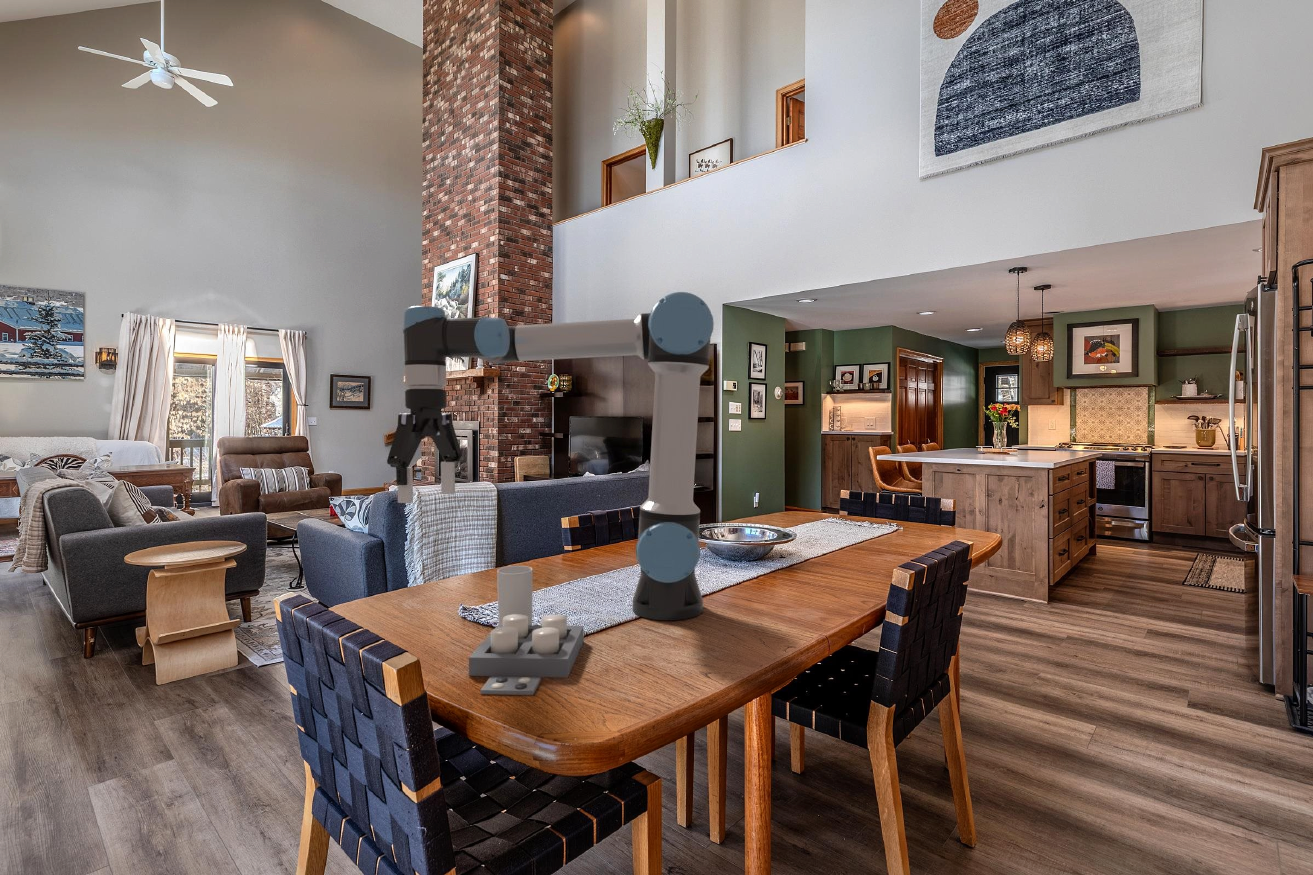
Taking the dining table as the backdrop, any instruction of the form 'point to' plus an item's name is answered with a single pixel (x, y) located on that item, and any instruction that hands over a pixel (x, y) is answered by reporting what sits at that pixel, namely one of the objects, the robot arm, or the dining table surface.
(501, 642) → the button
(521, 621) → the button
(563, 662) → the board
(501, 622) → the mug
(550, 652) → the button
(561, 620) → the button
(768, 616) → the dining table surface
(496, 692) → the card
